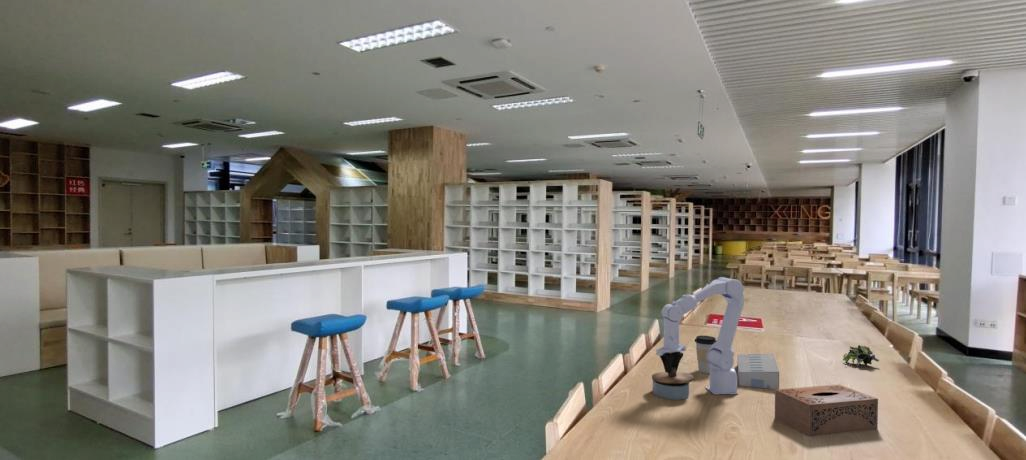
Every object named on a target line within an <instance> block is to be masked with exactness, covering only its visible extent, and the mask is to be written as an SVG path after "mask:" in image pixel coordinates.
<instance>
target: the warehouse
mask: <svg viewBox="0 0 1026 460" xmlns="http://www.w3.org/2000/svg"><path fill="white" fill-rule="evenodd" d="M737 374H738V375H737V378H738V386H744V387H751V388H752V387H753V388H760V389H761V388H762V389H770V390H776V389H780V370H779V368H778V365H777V361H776V357H775V355H774V353H750V354H749V353H743V354H742V353H741V354H737Z"/></svg>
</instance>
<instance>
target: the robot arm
mask: <svg viewBox="0 0 1026 460" xmlns="http://www.w3.org/2000/svg"><path fill="white" fill-rule="evenodd" d="M744 290H745V286H744V285H743V284H742V282H741V280H739V279H736V278H735V279H733V278H730V277H729V278H728V277H725V276H720V277H718V278H717V279H713V280H712V281H711V282H710V283H709V284H708V285H706V286H704V287H703V288H701V289H700V290H698V291H697V292H695V293H694V294H689V293H688V294H683V295H682V297H680V298H679V299H677V300H673V301H672V302H671V303H667V304H665V305H664V306H663V307H662V309H661V311H660V315H661V316H662V318H663V346H662V347H659V348H657V349H656V350H655V352H656V353H655V355H656V356H659V359H661V362H662V364H663V365H662V366H663V368H664V372H667V373H671V367H674V368H676V372H678V369H679V365H680V363H681V360H682V358H683V357H684V353H683V352H686V351H687V350H686V349H687V346H686V345H684V344H680V321H681V319H682V318H683V317H684V315H686V314H688V313H689V312H690V311H693V310H694V309H696V308H697V306H698V303H700V302H702V301H704V300H706V299H708V298H710V297H712V296H714V295H721V296H723V298H724V299H725V301H726V302H727V305H726V309H725V312H724V315H723V319H722V321H721V326H720V329H719V332H718V335H717V338H716V340H717V341H716V342H715V343H714V344H712V346H711V349H710V350H709V351H708V352H707V356H706V358H707V361H708V362H709V363H710V373H709V386H705V389H706V390H708V391H709V392H710V393H712V394H713V395H738V394H739V392H738V375H737V374H738V373H737V372H736V370H735V369H734V368H733V366H734V364H735V360H734V355H735V351H734V349H733V348H732V345H733V342H734V338H735V335H736V332H737V328H738V326H739V322H740V319H741V315H742V311H743V308H744V305H745V299H744Z"/></svg>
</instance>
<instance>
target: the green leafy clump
mask: <svg viewBox="0 0 1026 460" xmlns="http://www.w3.org/2000/svg"><path fill="white" fill-rule="evenodd" d="M848 350H849V351H848V353H844V355H843V356H842V357H843V358H842V361H844V362H845V363H848V362H849V361H850V360H851V362H852V364H855V361H856V363H857V365H856V366H855V367H856V368H857V367H858V366H859V365H860V364H861V363H862V362H863V365H866V366H867V365H872V361H875V362H879V361H880V360H879V359H878V358H876V355H875V354H873V353H874V351H872V350H871V349H870V347H869V346H866V345H860V344H859V345H857V346H855V347H854V346H851V345H850V346H849V349H848Z"/></svg>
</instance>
